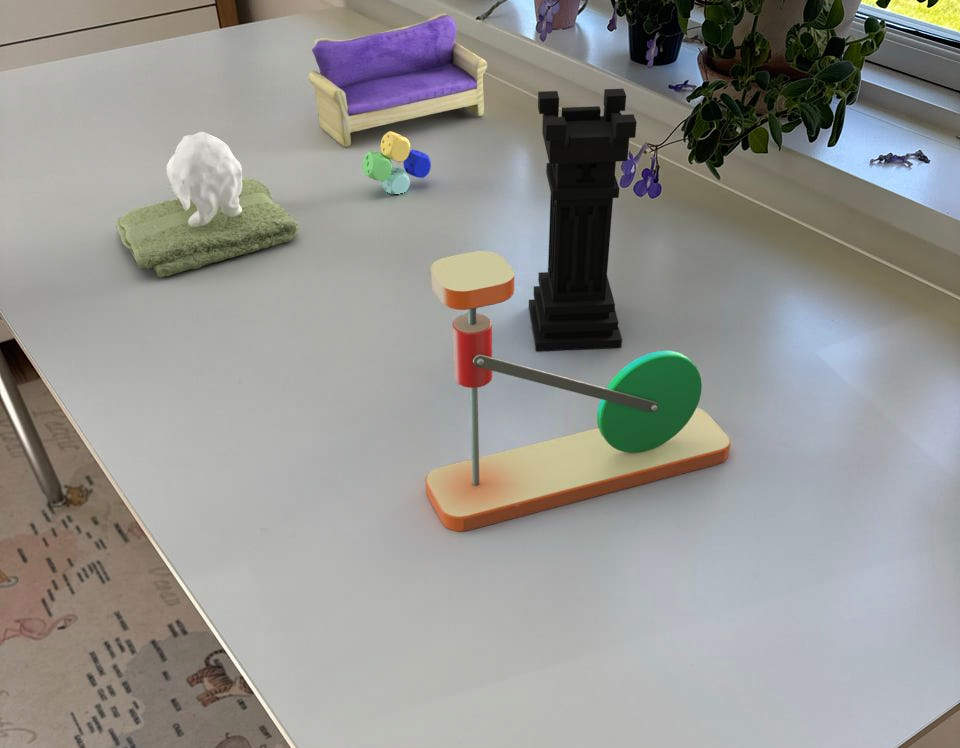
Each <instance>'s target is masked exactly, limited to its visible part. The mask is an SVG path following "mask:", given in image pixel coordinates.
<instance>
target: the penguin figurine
mask: <svg viewBox="0 0 960 748" xmlns="http://www.w3.org/2000/svg"><path fill="white" fill-rule="evenodd" d="M166 175H167V177H168V178H167V179H168V180H169V182H170V184H171V185H169V186H166V188H167V189H168V190H169V191H172V192H171V194H175V196H176V198H177V199H178V198H179V199H180V202H181V203H182V205H183V208H184V210H185V211H187V210H188V209H189V207H190V199H191V201H192V202H193V203H194V204H195V205H196V207H197V210H198V211H197V212H195V213H194V214H193V215H192V216H191V217H190V218H189V221H188V223H189V225H190V226H192V227H198V226H203V225H206V224H208V223H209V222H210V221H211V219H212V218H213V217H214V216H215V215H216V213H217V209H218V208H219V207H221V211H222V212H223V213H224V214H225V215H227V216H229V217H234V216H237V215H239V214H240V213H241V212H242V208H241V206H240V205H239V198H238V196H239V195H240V193H241V191H242V179H243V169H242V164H241V163H240V161H239V160H238V159H237V158H236V157H235V155H234V153H233V152H232V151H231V149H230V147H229V146H228V144H226V143H225V141H223V140H222V139H220V138H218V137H216V136H213V135H211V134H209V133H207V132H205V131H198V132H197V133H195V134H186V135H184V136H183V137H182V138H181V141H179V143H178V144H177V145H176V147H175V151H174V153H173V155H171V157H170V158H169V160H168V162H167V164H166ZM176 198H175V199H176ZM177 199H176V200H177Z"/></svg>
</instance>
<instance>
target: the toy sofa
mask: <svg viewBox="0 0 960 748" xmlns="http://www.w3.org/2000/svg"><path fill="white" fill-rule="evenodd" d="M456 37H457V22H456V21H455V19H454V18H453V17H452V16H451V15H449V14H447V13H445V12H444V13H439V14H437V15H435V16H433V17H431V18H429V19H426V20H425V21H422V22H418V23H414V24H409V25H407V26H402V27H398V28H393V29H390V30H385V31H381V32H375V33H371V34H368V35H367V34H365V35H363V36H358V37H353V38H350V39H349V38H348V39H333V38H328V37H318V38H317V39H315V41H314V44H313V48H312V49H311V52H312V54H313V56H314V58H315V62H316V64H317V66H318V70H319V72H318V71H317V70H311V71H310V72H309V74H308V82H309V83H310V84H311V85H312V86H313V87H314V91H315V98H316V105H317V112H318V121H319V127H320V128H321V129H322V130H323V131H324V132H326V133H327V134H328V135H329V136H330V137H332V139H334V140H335V141H336V142H337V143H339V144H340V145H341V146H342V147H344V148H347V147H350V146H351V145H352V142H351V141H352V140H351V133H354V132H359V131H363V130H367V129H372V128H377V127H380V126H386V125H390V124H394V123H399V122H404V121H407V120H413V119H416V118H421V117H425V116H429V115H430V116H431V115H434V114H438V113H443V112H448V111H451V110H457V109H462V108H466V109H468V110H469V111H470V112H472V114H474V115H476V116H477V117H478V116H479V117H481V116H483V115H484V113H485V112H484V111H485V109H484V107H485V105H484V73H485V72H486V71H487V68H488V63H487V61H486V60H485V59H483V58H482V57H480V56H479V55H477V54H475V53H474V52H472V51H470V50H469V49H467V48H466V47H464V46H462V45H461V44H460V43H458V42H456Z"/></svg>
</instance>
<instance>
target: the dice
mask: <svg viewBox="0 0 960 748" xmlns="http://www.w3.org/2000/svg"><path fill="white" fill-rule="evenodd" d="M380 151H381V152H379V151H375V150H369V151H368V152H367V153H366V154H365V155H364V157H363V159H362V166H361V167H362V171H363V174H364V175H365V176H366V177H368V178H369V179H372V180H375V181H377V182H381V185H382V187H383V190H384V191H385V192H386V193H387V192H388V193H387V194H389V193H390V194H389V195H393V194H399V195H401V194H400V193H403V194H405V193H406V192H407V191H408V190H409V188H410V185H411V184H410V182H411V181H410V177H409V176H413V177H415V178H418V179H419V178H420V179H424V178H426V177H427V176H428V175H429V173H430V171H431V167H432V162H431V159H430V156H429V155H428V154H426V153H425V152H422V151H420V150H416V149H411V143H410V141H409V139H408V138H406V137H405V136H403V135H402V134H399V133H397V132H394V131H391V130H389V131H388V132H386V133H385V134H384V135H382V138H381V141H380ZM391 160H392V161H394V162H397V163H402V162H403V168H402V167H400V166H399V167H398V166H393V164H392V161H391ZM404 192H405V193H404Z"/></svg>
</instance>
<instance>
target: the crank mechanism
mask: <svg viewBox="0 0 960 748" xmlns="http://www.w3.org/2000/svg"><path fill="white" fill-rule="evenodd" d="M430 284H431V285H430V286H431V289H432V291H433V293H434V294H435V295H436V297H437V298H438V300H439V301H440V302H441V303H442V304H443V305H444V306H445V307H447V308H450V309H452V310H457V311H467V313H463V314H461V315H459V316H457V317H456V318H455V319H454V320H453V321H452V327H451V328H452V348H453V349H452V351H453V375H454V376H453V378H454V381H455V382H456V383H457V384H458V385H460V386H462V387H464V388H469V396H470V397H469V401H470V406H469V407H470V437H471V438H470V439H471V440H470V441H471V459H468V460H464V461H460V462H455V463H452V464H447V465H444V466H439V467H437V468H434V469H432V470H431V471H430V472H428V473H427V475H426V476H425V492H426V496H427V498H428V500H429V502H430V504H431V507H432V508H433V509H434V511H435V513H436V515H437V517H438V518H439V520H440V522H441V524H442V525H443V526H444V527H445V528H447V529H448V530H451V531H454V532H467V531H470V530H475V529H480V528H482V527H486V526H490V525H493V524H498V523H501V522H505V521H509V520H512V519H517V518H520V517H524V516H527V515H528V516H529V515H531V514H535V513H538V512H543V511H546V510H551V509H555V508H557V507H562V506H565V505H569V504H573V503H576V502H577V503H578V502H582V501H584V500H588V499H592V498H596V497H599V496H603V495H606V494H611V493H615V492H618V491H622V490H625V489H626V490H627V489H629V488H633V487H637V486H642V485H644V484H649V483H652V482H657V481H660V480H664V479H667V478H671V477H674V476H675V477H676V476H678V475H682V474H686V473H690V472H694V471H697V470H701V469H704V468H709V467H713V466H717V465H719V464H722V463H724V462H725V461H727V459H728V457H729V454H730V449H731V439H730V437H729V436H728V435H727V433H725V431H724V430H723V428H722V427H720V426H719V425H718V423H716V422H715V420H714V419H713V418H712V417H711V416H710V415H709V414H708V413H707V412H706V411H705V410H703V409H701V408H699V407H698V404H699V403H700V399H701V396H702V388H703V385H702V377H701V374H700V371H699V369H698V367H697V365H695V363H693V361H692V360H691V359H689V358H688V356H686V355H684V354H682V353H680V352H677V351H672V350H657V351H653V352H649V353H646V354H644V355H642V356H639V357H637V358H636V359H634V360H632V361H631V362H629V363H628V364H626V365H625V366H624V367H623V368H622V369H620V371H618V372H617V373H616V374H615V375H614V377H613V378H612V379H611V380H610V382H608V384H607V386H606V387H603V386H599V385H595V384H591V383H587V382H584V381H580V380H576V379H573V378H569V377H565V376H562V375H558V374H554V373H551V372H547V371H543V370H540V369H536V368H532V367H529V366H525V365H521V364H517V363H515V362H514V363H513V362H511V361H506V360H503V359H498V358H495V357H493V322H492V320H491V319H490V318H489V317H488V316H487V315H485V314H482V313H477V309H479V308H483V307H484V308H485V307H487V306H492V305H493V306H494V305H498V304H501V303H503V302H506V301H508V300H510V299H511V298H512V297H513V295H514V294H515V271H514V269H513V267H512V266H511V265H510V263H508V261H507V260H506V259H505V258H504V257H503V256H502V255H500V254H499V253H497V252H494V251H487V250H478V251H477V250H475V251H471V252H466V253H460V254H456V255H450V256H445V257H442V258H439V259H437V260H435V261H434V262H433V263H432V264H431V266H430ZM493 372H495V373H499V374H502V375H508V376H512V377H515V378H519V379H522V380H527V381H530V382H534V383H537V384H541V385H546V386H549V387H554V388H556V389H561V390H564V391H568V392H571V393H572V392H573V393H576V394H580V395H583V396H587V397H591V398H596V399H599V403H598V406H597V413H596V423H597V427H596V428H593V429H588V430H585V431H580V432H576V433H572V434H568V435H564V436H561V437H556V438H552V439H547V440H544V441H540V442H536V443H532V444H529V445H528V444H527V445H524V446H520V447H516V448H511V449H508V450H503V451H499V452H496V453H492V454H488V455H484V456H480V438H479V435H480V434H479V432H480V431H479V388H482V387H485V386H486V385H488V384H490V383H491V382H492V380H493Z"/></svg>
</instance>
